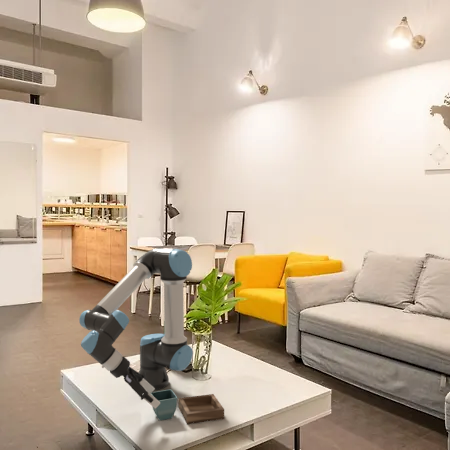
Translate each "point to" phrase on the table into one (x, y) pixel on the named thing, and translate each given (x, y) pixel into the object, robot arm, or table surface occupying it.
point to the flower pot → (165, 404)
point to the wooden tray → (201, 409)
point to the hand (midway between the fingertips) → (155, 398)
